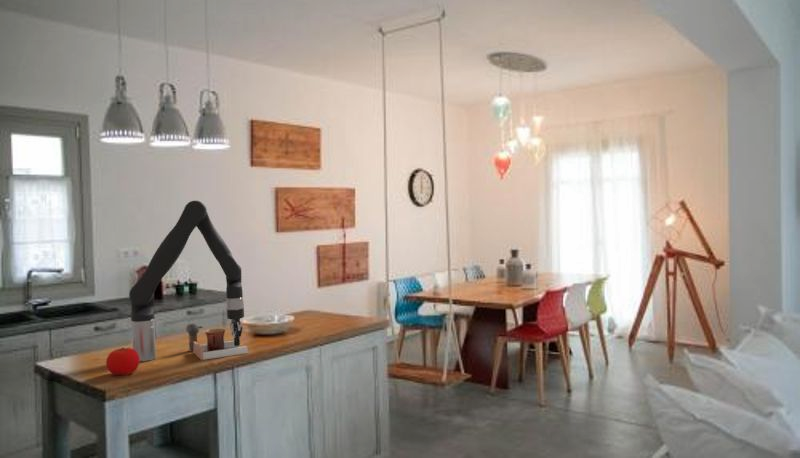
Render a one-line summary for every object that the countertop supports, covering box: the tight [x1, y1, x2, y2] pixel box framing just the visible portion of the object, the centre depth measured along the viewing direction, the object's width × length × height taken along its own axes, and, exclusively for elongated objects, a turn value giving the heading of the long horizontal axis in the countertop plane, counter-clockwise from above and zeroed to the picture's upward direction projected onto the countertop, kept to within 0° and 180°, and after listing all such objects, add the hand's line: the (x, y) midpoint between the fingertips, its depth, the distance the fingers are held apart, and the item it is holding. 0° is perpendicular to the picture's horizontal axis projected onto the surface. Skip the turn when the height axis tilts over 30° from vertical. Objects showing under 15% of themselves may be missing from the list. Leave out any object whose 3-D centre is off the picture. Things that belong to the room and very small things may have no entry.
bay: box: [193, 340, 249, 361], centre depth 265 cm, size 20×16×5 cm
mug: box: [204, 328, 226, 352], centre depth 263 cm, size 12×9×10 cm
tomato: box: [105, 347, 141, 376], centre depth 234 cm, size 11×12×10 cm
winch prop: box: [185, 322, 203, 353], centre depth 271 cm, size 7×4×12 cm, turn 120°
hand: (237, 345), depth 269 cm, fingers closed
